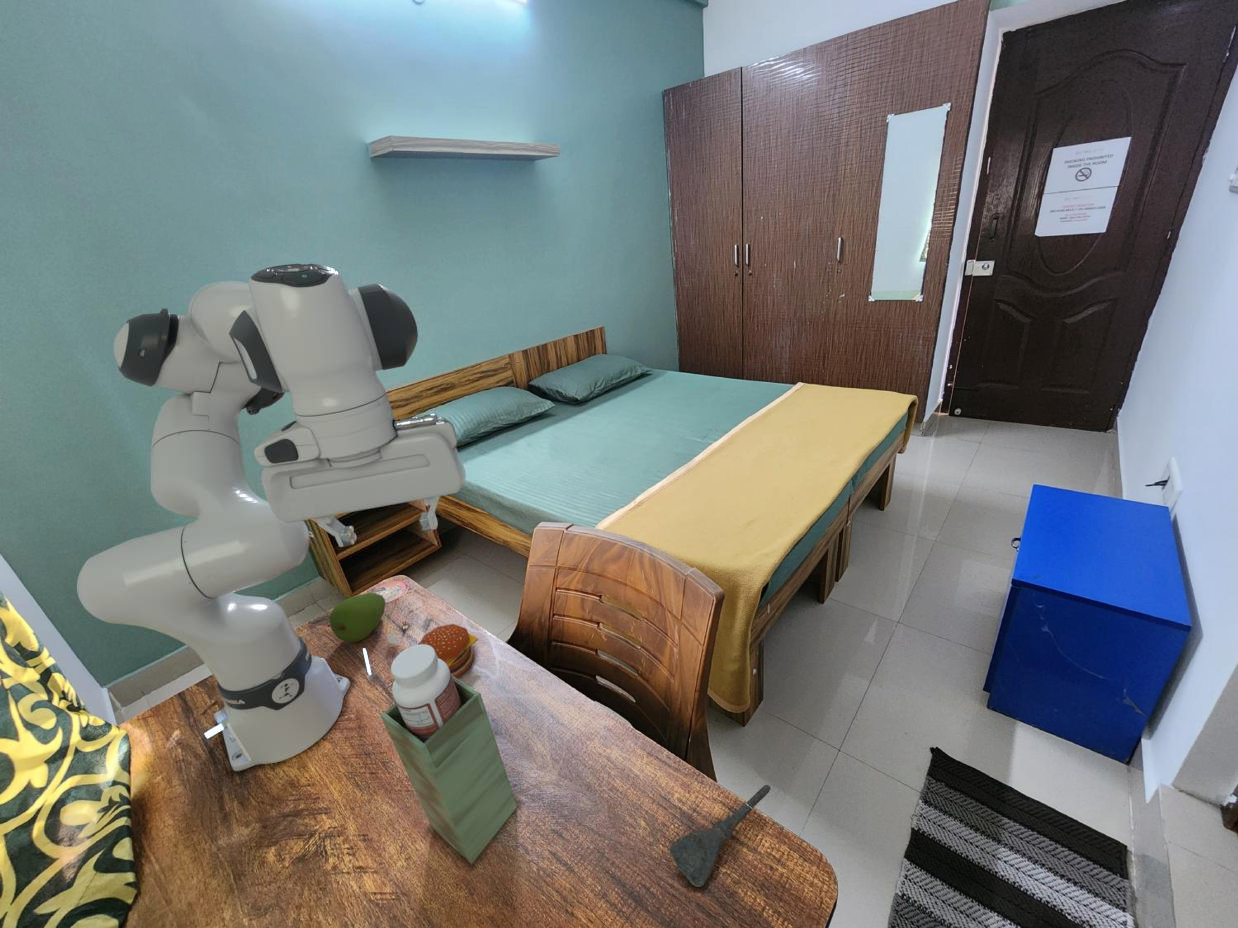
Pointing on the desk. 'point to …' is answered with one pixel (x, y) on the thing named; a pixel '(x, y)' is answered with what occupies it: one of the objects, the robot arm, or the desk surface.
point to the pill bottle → (423, 690)
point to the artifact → (709, 843)
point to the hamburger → (452, 647)
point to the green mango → (357, 616)
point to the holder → (457, 774)
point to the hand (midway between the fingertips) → (390, 535)
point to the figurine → (393, 637)
